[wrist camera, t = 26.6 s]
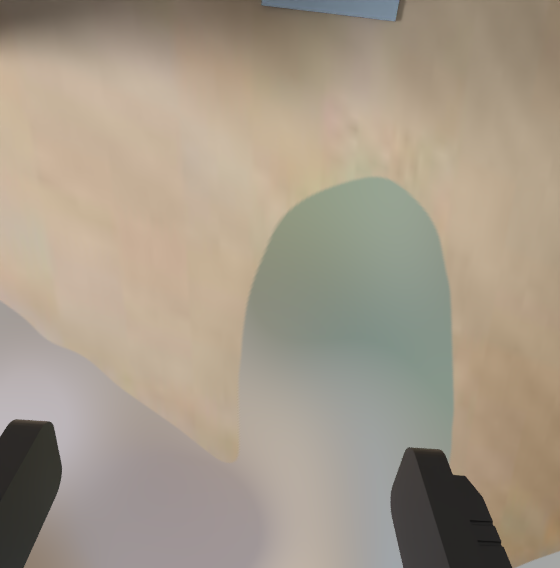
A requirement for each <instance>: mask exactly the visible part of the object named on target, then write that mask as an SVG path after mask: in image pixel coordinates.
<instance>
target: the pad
mask: <svg viewBox="0 0 560 568" xmlns="http://www.w3.org/2000/svg"><path fill="white" fill-rule="evenodd" d="M261 5H264V6H272V7H281V8H289V9H297V10H305V11H314V12H322V13H330V14H338V15H347V16H355V17H363V18H371V19H380V20H388V21H395V20H396V15H397V10H398V5H399V0H262V4H261Z"/></svg>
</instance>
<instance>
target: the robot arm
mask: <svg viewBox="0 0 560 568" xmlns="http://www.w3.org/2000/svg"><path fill="white" fill-rule="evenodd" d="M61 474H62V465H61V460H60V455H59V450H58V445H57V440H56V436H55V431H54V427H53V424H52V423H51V422H47V421H32V420H17V419H16V420H13V421H12V422H10V423H9V425H8V426H7V427H6V429H5V430H4V432H3V433H2V435H1V436H0V568H23V567H24V565H25V563H26V561H27V559H28V556H29V554H30V552H31V550H32V547H33V545H34V543H35V541H36V539H37V537H38V534H39V532H40V530H41V528H42V525H43V523H44V521H45V519H46V517H47V515H48V512H49V510H50V508H51V506H52V503H53V501H54V499H55V497H56V494H57V492H58V489H59V485H60V481H61ZM391 513H392V519H393V523H394V528H395V532H396V537H397V541H398V546H399V550H400V555H401V559H402V563H403V568H512V566H511V564H510V561H509V559H508V557H507V554H506V552H505V549H504V547H502V546H501V540H500V537H499V535H498V533H497V530H496V528H495V526H493V521H492V518H491V516H490V514H489V511H488V509H487V506H486V504H485V502H484V499H483V497H482V496H481V495H480V493H479V492H478V491H477V490H476V489H475V487H474V486H473V485H472V484H471V482H470V481H469V480H468V479H467V478H466V476H459V475H453V474H452V472H451V469H450V466H449V464H448V461H447V458H446V456H445V454H444V453H443V451H441V450H439V449H424V448H410V447H409V448H407V449H406V450H405V453H404V456H403V458H402V461H401V464H400V467H399V470H398V472H397V475H396V478H395V481H394V484H393V487H392V491H391Z"/></svg>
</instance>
